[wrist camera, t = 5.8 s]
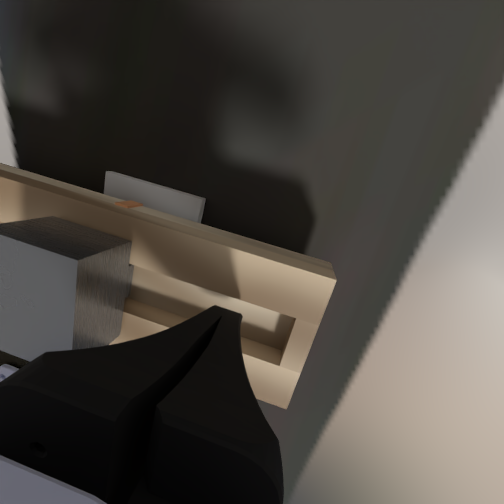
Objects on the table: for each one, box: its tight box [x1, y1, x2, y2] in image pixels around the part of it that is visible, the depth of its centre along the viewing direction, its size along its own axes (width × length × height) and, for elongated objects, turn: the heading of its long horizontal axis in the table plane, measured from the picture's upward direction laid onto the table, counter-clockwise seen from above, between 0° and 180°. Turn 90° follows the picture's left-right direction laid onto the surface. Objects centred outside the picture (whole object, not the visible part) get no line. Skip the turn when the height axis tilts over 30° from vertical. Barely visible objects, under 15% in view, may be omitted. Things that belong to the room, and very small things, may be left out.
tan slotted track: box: [0, 163, 337, 409], centre depth 15 cm, size 9×21×4 cm, turn 75°
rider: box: [0, 216, 134, 362], centre depth 12 cm, size 5×4×4 cm
